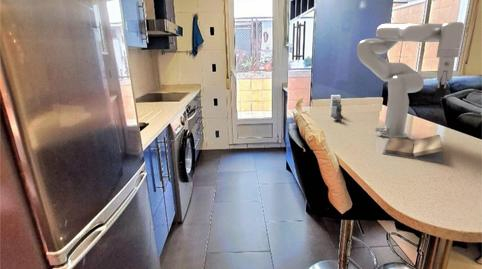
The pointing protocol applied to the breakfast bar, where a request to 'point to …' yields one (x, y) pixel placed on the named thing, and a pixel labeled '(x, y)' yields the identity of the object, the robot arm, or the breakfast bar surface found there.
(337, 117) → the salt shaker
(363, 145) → the breakfast bar surface
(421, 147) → the ash plank
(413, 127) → the breakfast bar surface
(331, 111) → the syrup box
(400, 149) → the walnut board
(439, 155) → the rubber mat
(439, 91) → the robot arm
